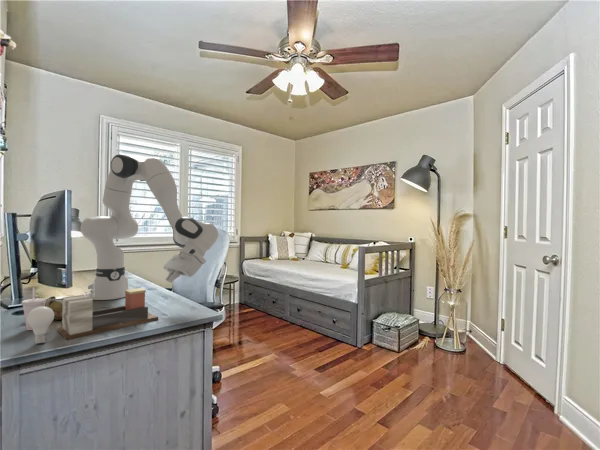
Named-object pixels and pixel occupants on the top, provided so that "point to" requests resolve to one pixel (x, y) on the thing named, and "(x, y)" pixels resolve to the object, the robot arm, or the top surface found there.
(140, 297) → the plunger
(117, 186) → the robot arm
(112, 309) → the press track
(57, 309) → the ceramic sculpture
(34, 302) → the smoothie
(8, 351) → the top surface
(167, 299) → the top surface
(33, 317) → the lightbulb
